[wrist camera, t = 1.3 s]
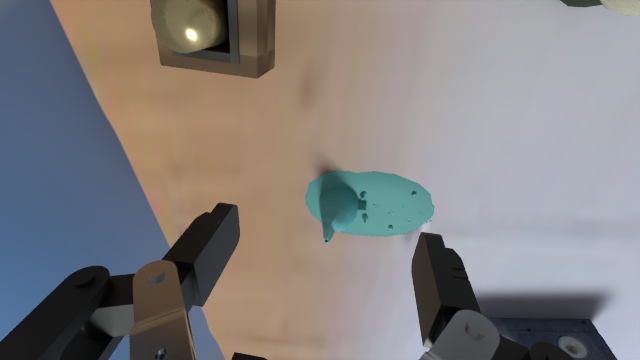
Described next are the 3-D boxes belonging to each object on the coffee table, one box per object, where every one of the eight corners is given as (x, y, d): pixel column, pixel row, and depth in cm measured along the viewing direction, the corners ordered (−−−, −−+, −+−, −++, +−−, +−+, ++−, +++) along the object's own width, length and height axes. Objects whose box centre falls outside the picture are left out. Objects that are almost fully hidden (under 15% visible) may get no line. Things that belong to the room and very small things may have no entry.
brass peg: (184, -10, 27) (146, -13, 23) (230, -5, 27) (201, -6, 22) (190, 42, 30) (156, 49, 25) (233, 47, 29) (206, 56, 25)
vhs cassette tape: (463, 326, 52) (480, 389, 44) (464, 315, 51) (482, 378, 42) (585, 330, 48) (631, 399, 40) (590, 318, 47) (639, 388, 38)
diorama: (431, 244, 44) (442, 292, 37) (299, 229, 47) (285, 271, 39) (451, 173, 38) (469, 214, 31) (298, 160, 41) (281, 194, 33)
